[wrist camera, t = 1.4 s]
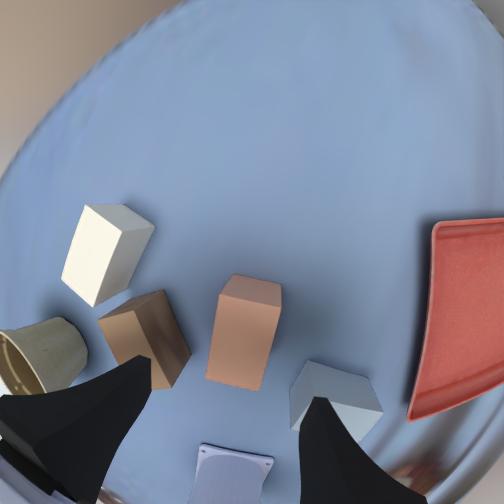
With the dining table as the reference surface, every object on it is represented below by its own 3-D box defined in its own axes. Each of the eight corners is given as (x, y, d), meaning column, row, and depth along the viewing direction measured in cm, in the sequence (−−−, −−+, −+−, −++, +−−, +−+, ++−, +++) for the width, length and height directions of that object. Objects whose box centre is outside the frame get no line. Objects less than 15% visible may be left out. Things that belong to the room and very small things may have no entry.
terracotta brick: (263, 353, 21) (258, 391, 16) (220, 344, 21) (205, 378, 16) (280, 283, 20) (281, 307, 15) (233, 273, 20) (219, 294, 15)
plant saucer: (509, 361, 19) (523, 373, 16) (394, 406, 21) (404, 426, 17) (530, 213, 16) (549, 215, 13) (410, 219, 18) (431, 221, 15)
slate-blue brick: (367, 377, 20) (384, 412, 15) (347, 405, 21) (358, 442, 16) (307, 359, 20) (314, 397, 15) (289, 390, 21) (290, 429, 16)
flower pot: (115, 352, 22) (62, 401, 14) (86, 392, 24) (45, 433, 15) (54, 283, 22) (-8, 308, 13) (35, 334, 23) (-13, 362, 15)
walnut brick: (191, 354, 21) (171, 388, 16) (157, 360, 22) (133, 391, 17) (163, 288, 21) (134, 310, 16) (130, 299, 21) (97, 320, 16)
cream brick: (127, 288, 21) (93, 307, 16) (98, 265, 21) (61, 278, 16) (156, 226, 20) (122, 231, 15) (123, 204, 20) (85, 204, 15)
